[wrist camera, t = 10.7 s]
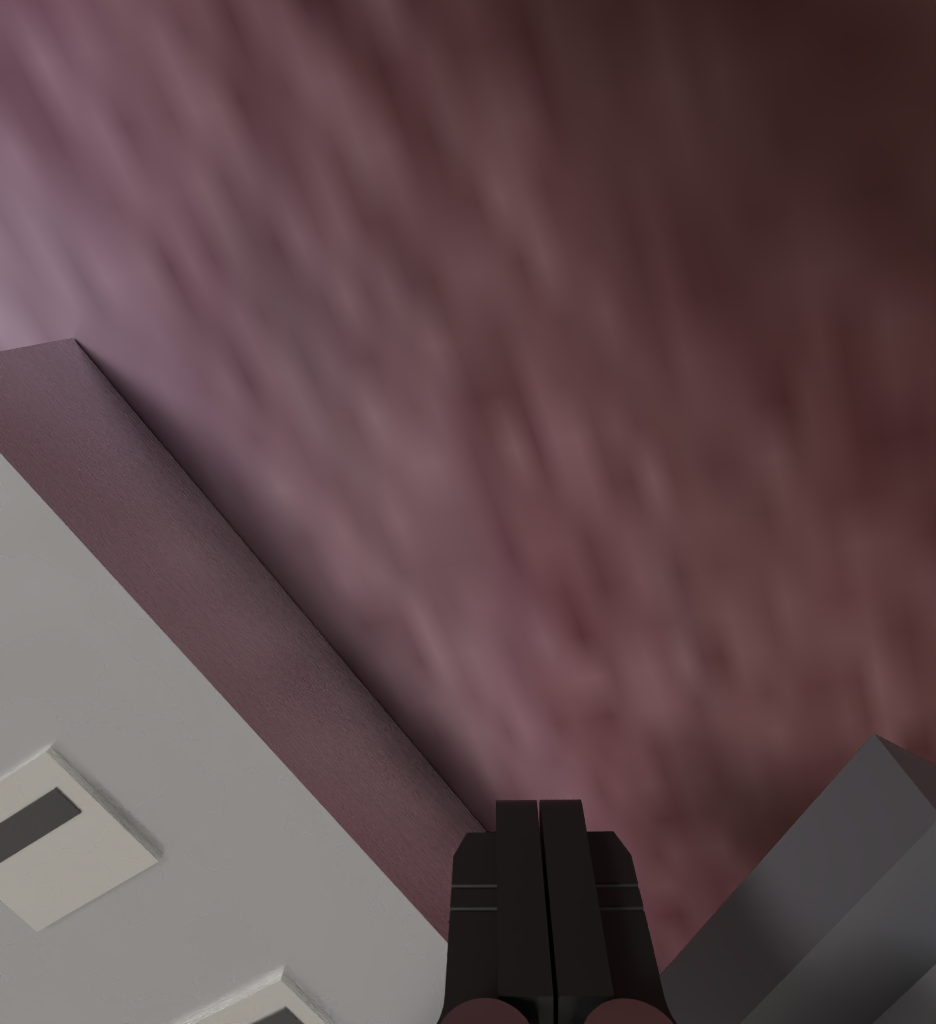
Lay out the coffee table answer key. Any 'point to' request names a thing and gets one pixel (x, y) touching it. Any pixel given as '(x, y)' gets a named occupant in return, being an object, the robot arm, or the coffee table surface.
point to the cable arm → (829, 912)
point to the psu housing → (188, 754)
